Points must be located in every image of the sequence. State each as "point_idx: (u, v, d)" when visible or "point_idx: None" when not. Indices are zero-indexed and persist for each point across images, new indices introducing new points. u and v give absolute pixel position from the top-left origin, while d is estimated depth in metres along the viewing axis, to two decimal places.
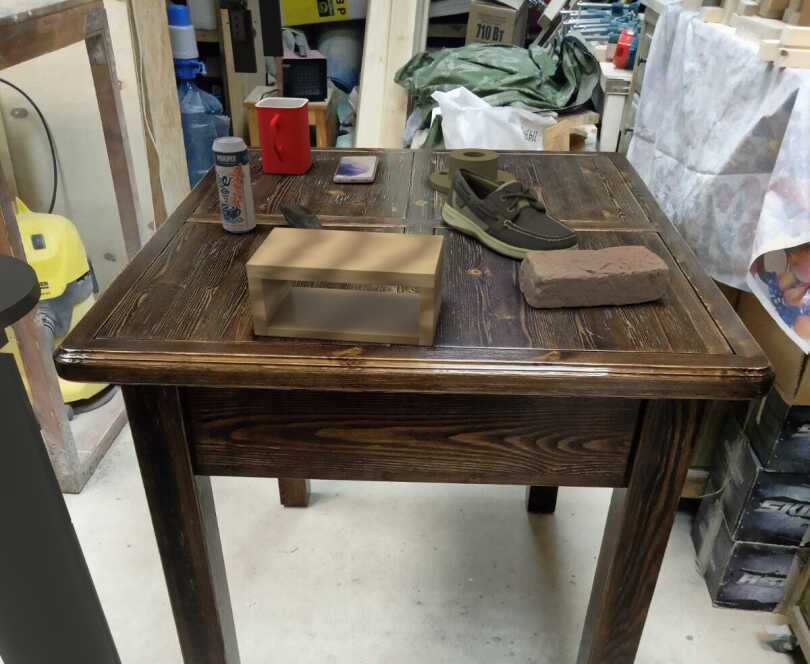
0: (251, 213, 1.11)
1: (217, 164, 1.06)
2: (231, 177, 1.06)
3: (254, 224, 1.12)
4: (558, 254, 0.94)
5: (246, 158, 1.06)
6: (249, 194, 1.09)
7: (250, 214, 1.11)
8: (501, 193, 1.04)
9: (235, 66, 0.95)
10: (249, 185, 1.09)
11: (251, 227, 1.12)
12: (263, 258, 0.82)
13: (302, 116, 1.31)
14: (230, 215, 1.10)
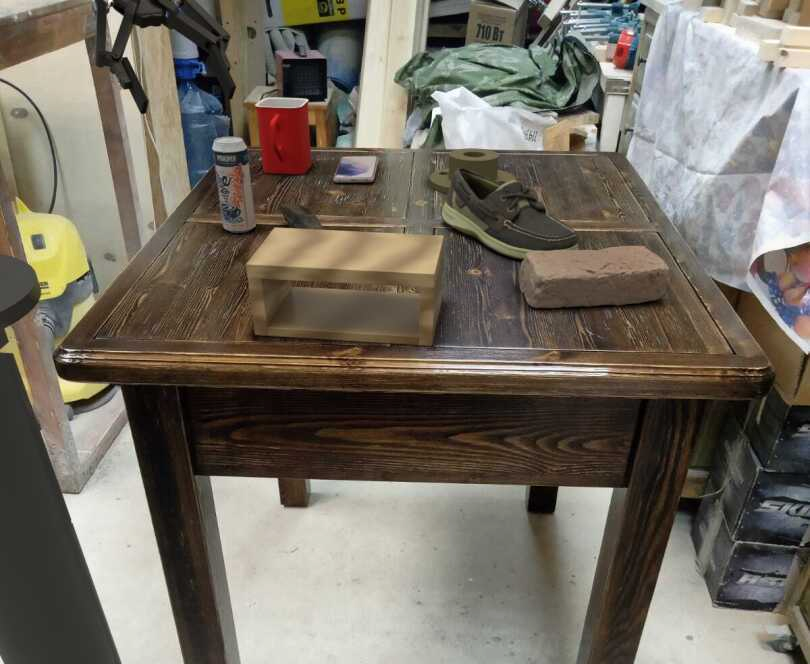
0: (251, 213, 1.11)
1: (217, 164, 1.06)
2: (231, 177, 1.06)
3: (254, 224, 1.12)
4: (558, 254, 0.94)
5: (246, 158, 1.06)
6: (249, 194, 1.09)
7: (250, 214, 1.11)
8: (501, 193, 1.04)
9: (233, 83, 1.11)
10: (249, 185, 1.09)
11: (251, 227, 1.12)
12: (263, 258, 0.82)
13: (302, 116, 1.31)
14: (230, 215, 1.10)
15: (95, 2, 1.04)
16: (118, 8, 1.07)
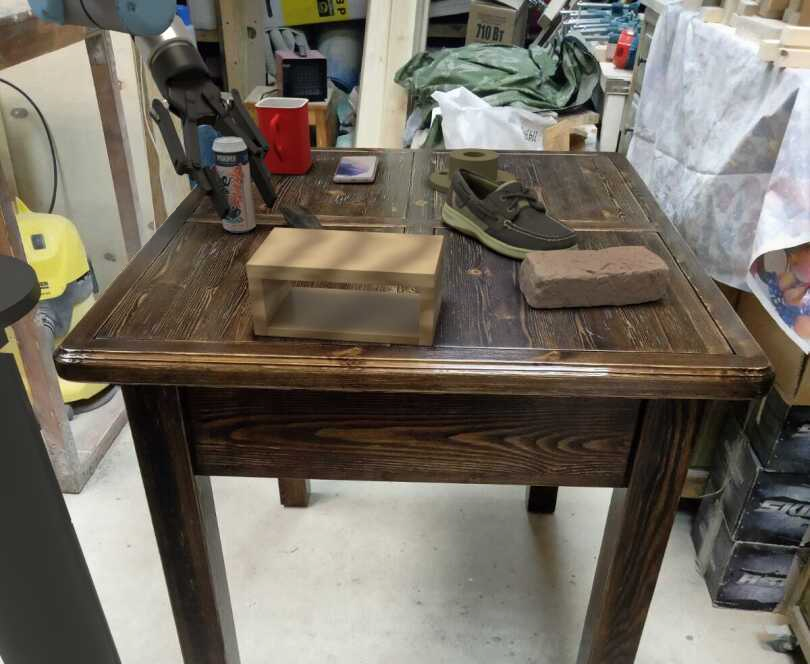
0: (251, 213, 1.11)
1: (217, 164, 1.06)
2: (231, 177, 1.06)
3: (254, 224, 1.12)
4: (558, 254, 0.94)
5: (246, 158, 1.06)
6: (249, 194, 1.09)
7: (250, 214, 1.11)
8: (500, 193, 1.04)
9: (275, 193, 1.10)
10: (249, 185, 1.09)
11: (251, 227, 1.12)
12: (263, 258, 0.82)
13: (302, 116, 1.31)
14: (230, 215, 1.10)
15: (158, 112, 1.04)
16: (172, 108, 1.06)
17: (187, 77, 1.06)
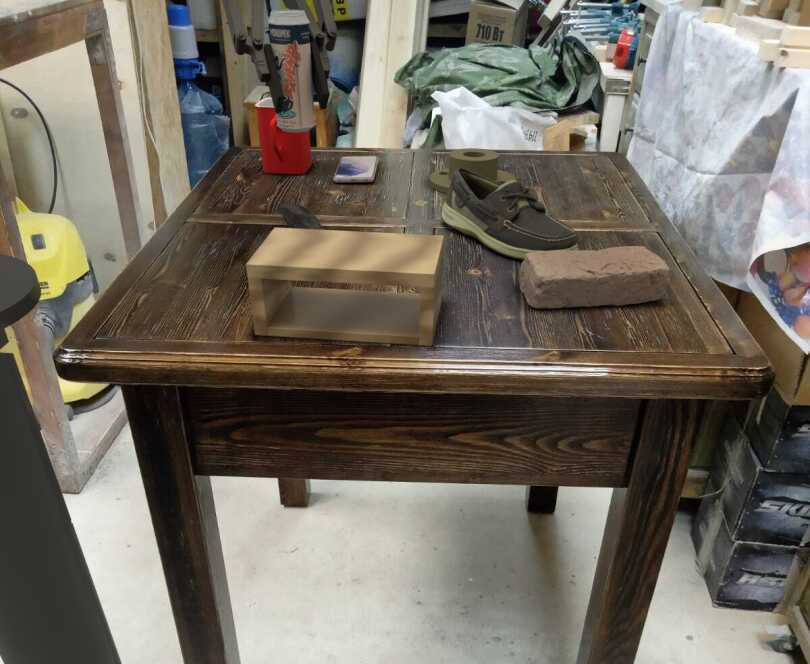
0: (307, 109, 0.91)
1: (270, 41, 0.87)
2: (283, 58, 0.87)
3: (311, 124, 0.93)
4: (558, 254, 0.94)
5: (305, 36, 0.87)
6: (306, 84, 0.90)
7: (305, 110, 0.91)
8: (500, 193, 1.04)
9: None
10: (307, 72, 0.89)
11: (306, 126, 0.92)
12: (263, 258, 0.82)
13: None
14: None
15: None
16: None
17: None
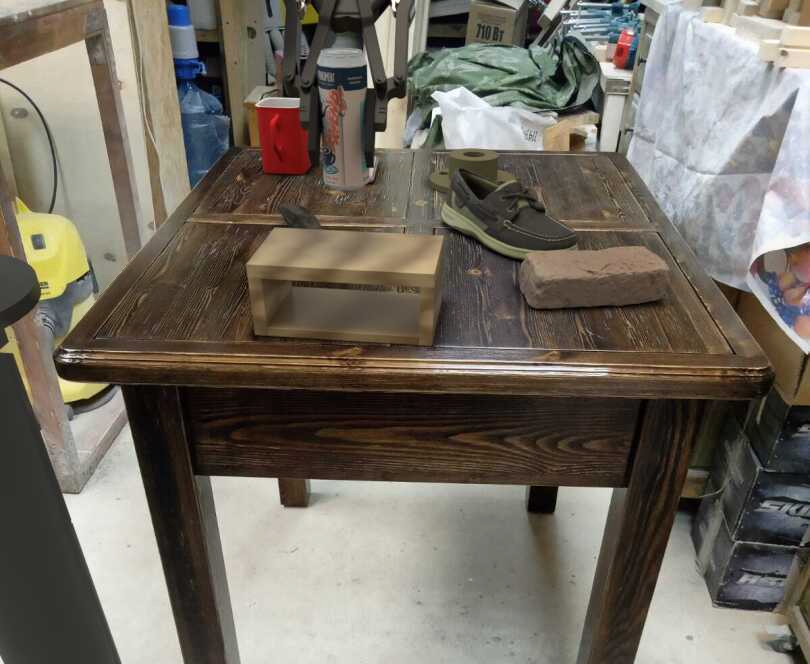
0: (353, 165, 0.76)
1: (318, 84, 0.74)
2: (327, 105, 0.73)
3: (359, 182, 0.78)
4: (558, 254, 0.94)
5: (355, 81, 0.72)
6: (353, 136, 0.75)
7: (350, 166, 0.76)
8: (500, 193, 1.04)
9: (372, 146, 0.73)
10: (356, 123, 0.74)
11: (350, 185, 0.78)
12: (263, 258, 0.82)
13: None
14: (325, 161, 0.77)
15: (284, 5, 0.75)
16: None
17: None
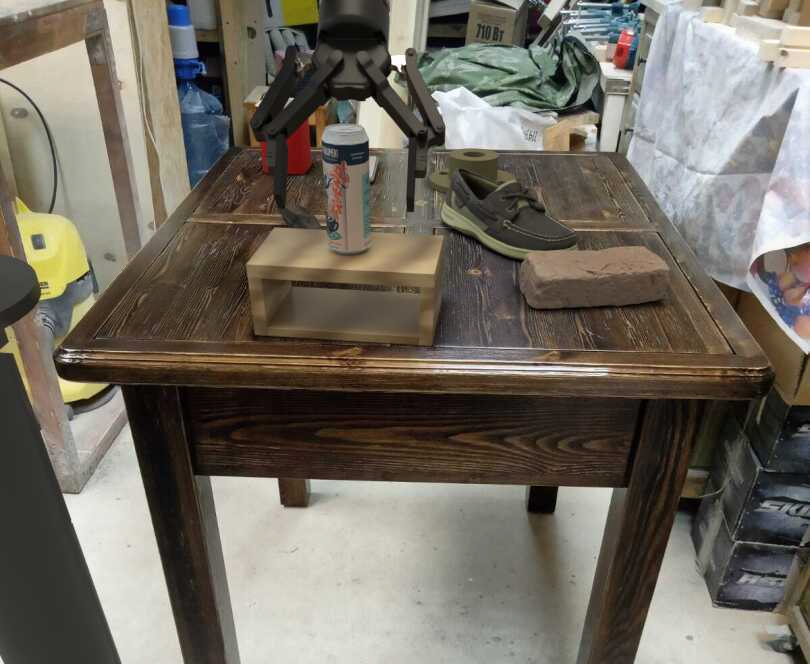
0: (355, 232, 0.81)
1: (322, 157, 0.78)
2: (331, 178, 0.78)
3: (361, 247, 0.82)
4: (558, 254, 0.94)
5: (358, 157, 0.76)
6: (355, 206, 0.79)
7: (353, 233, 0.81)
8: (500, 193, 1.04)
9: (413, 193, 0.77)
10: (358, 194, 0.78)
11: (352, 250, 0.82)
12: (263, 258, 0.82)
13: None
14: (328, 227, 0.81)
15: (284, 61, 0.79)
16: None
17: (347, 33, 0.78)
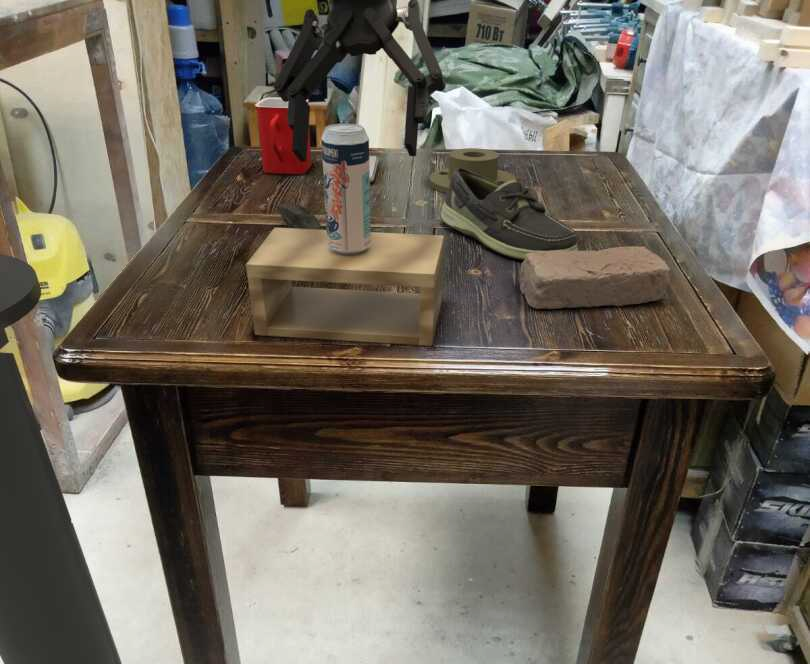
0: (355, 232, 0.81)
1: (323, 157, 0.78)
2: (331, 178, 0.78)
3: (361, 247, 0.82)
4: (558, 254, 0.94)
5: (358, 157, 0.76)
6: (355, 206, 0.79)
7: (353, 233, 0.81)
8: (500, 193, 1.04)
9: (411, 139, 0.86)
10: (358, 194, 0.78)
11: (352, 250, 0.82)
12: (263, 258, 0.82)
13: None
14: (328, 227, 0.81)
15: (304, 24, 0.89)
16: None
17: None
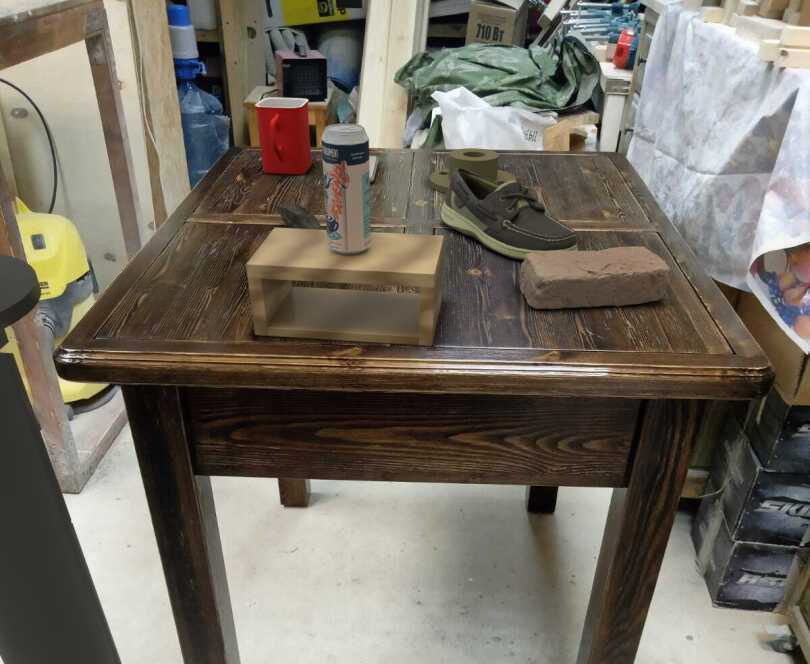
0: (355, 232, 0.81)
1: (323, 157, 0.78)
2: (331, 178, 0.78)
3: (361, 247, 0.82)
4: (559, 254, 0.94)
5: (358, 157, 0.76)
6: (355, 206, 0.79)
7: (353, 233, 0.81)
8: (500, 193, 1.04)
9: (337, 0, 0.80)
10: (358, 194, 0.78)
11: (352, 250, 0.82)
12: (263, 258, 0.82)
13: (302, 116, 1.31)
14: (328, 227, 0.81)
15: None
16: None
17: None
